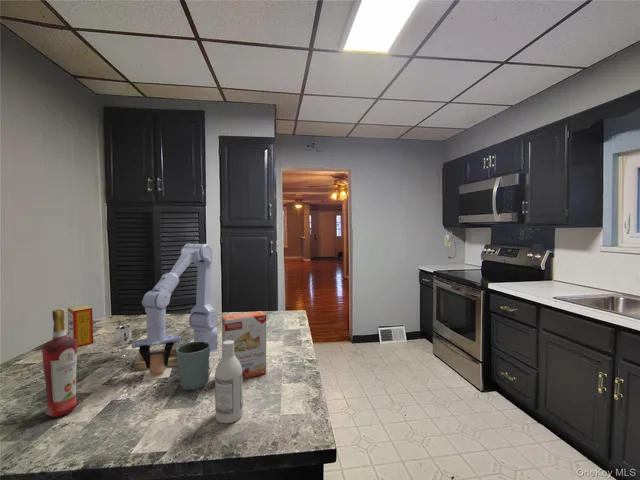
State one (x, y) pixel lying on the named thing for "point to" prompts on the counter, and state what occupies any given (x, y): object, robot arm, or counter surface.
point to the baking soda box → (80, 324)
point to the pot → (157, 361)
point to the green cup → (193, 364)
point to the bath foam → (228, 386)
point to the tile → (157, 375)
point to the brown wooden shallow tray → (141, 366)
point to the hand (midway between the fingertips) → (157, 365)
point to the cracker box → (247, 340)
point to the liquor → (60, 368)
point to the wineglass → (122, 336)
